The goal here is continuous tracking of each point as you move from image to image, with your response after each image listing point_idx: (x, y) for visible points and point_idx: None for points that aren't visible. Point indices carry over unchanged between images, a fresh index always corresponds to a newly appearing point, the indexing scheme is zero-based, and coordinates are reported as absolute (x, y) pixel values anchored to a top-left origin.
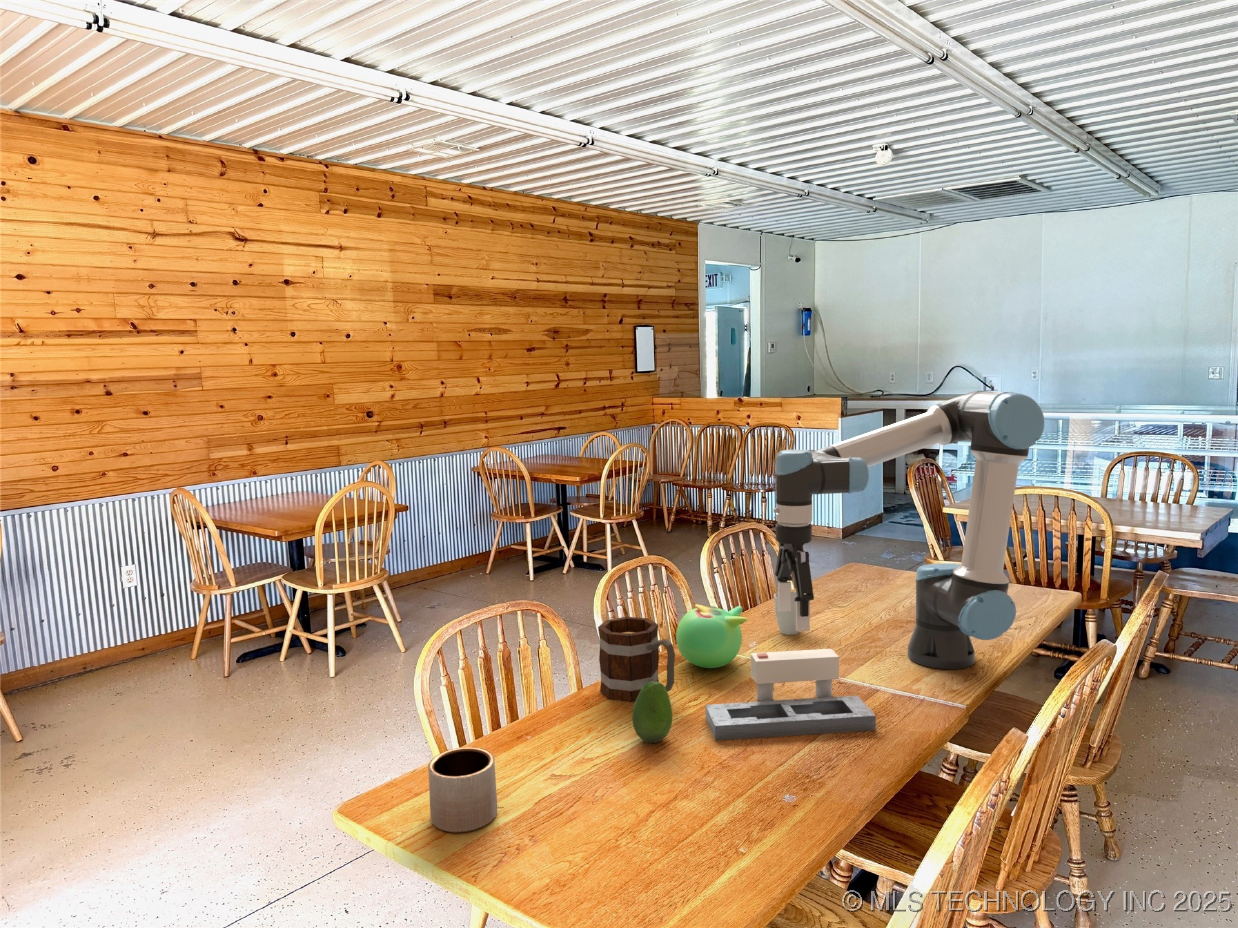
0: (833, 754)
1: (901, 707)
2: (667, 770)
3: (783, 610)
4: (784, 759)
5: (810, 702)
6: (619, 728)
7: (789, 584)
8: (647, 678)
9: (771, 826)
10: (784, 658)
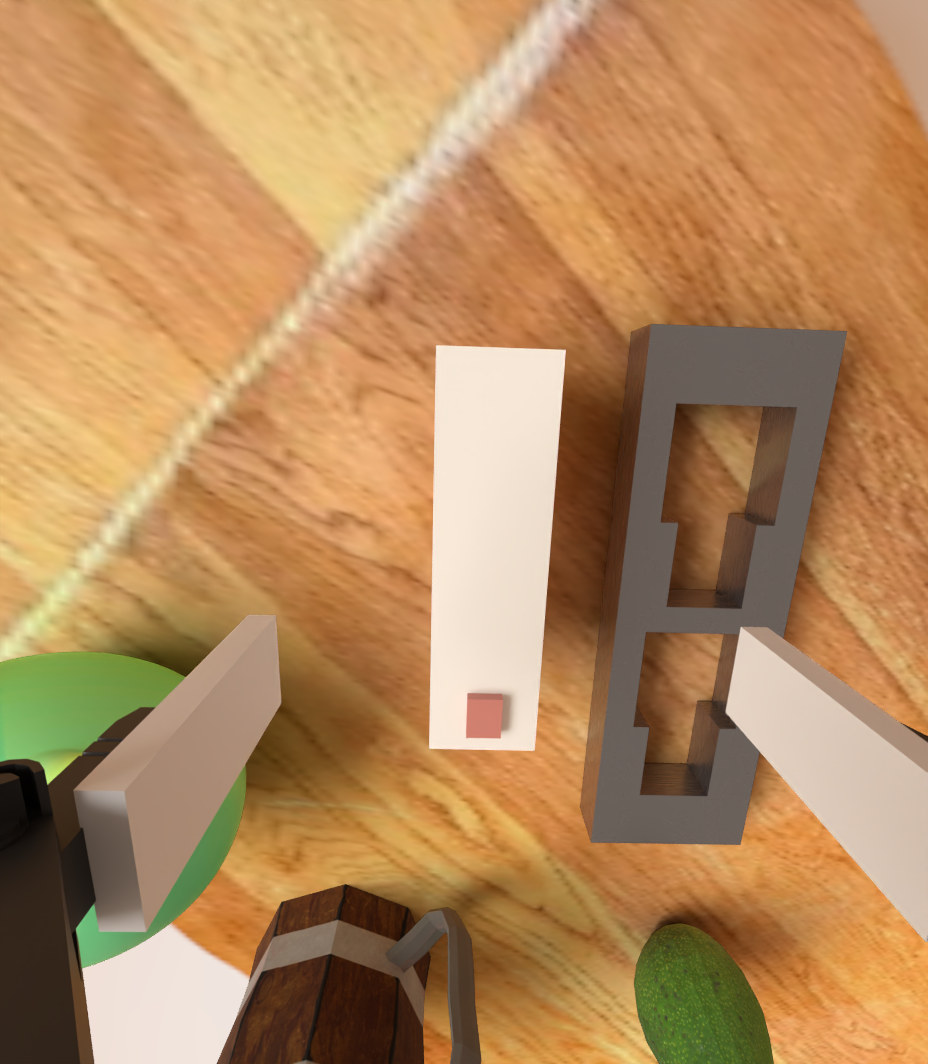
0: (905, 537)
1: (662, 139)
2: (826, 925)
3: (276, 674)
4: (879, 673)
5: (663, 529)
6: (583, 991)
7: (141, 788)
8: (403, 984)
9: None
10: (526, 626)
